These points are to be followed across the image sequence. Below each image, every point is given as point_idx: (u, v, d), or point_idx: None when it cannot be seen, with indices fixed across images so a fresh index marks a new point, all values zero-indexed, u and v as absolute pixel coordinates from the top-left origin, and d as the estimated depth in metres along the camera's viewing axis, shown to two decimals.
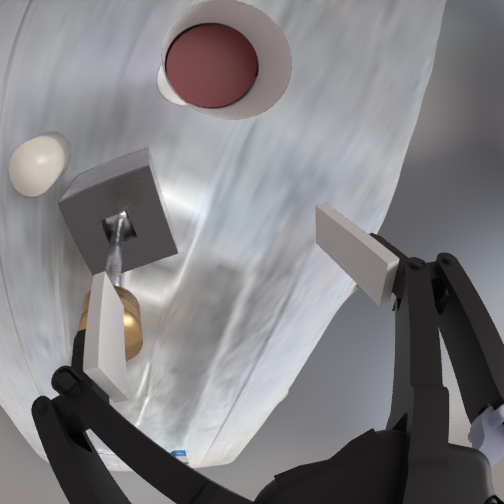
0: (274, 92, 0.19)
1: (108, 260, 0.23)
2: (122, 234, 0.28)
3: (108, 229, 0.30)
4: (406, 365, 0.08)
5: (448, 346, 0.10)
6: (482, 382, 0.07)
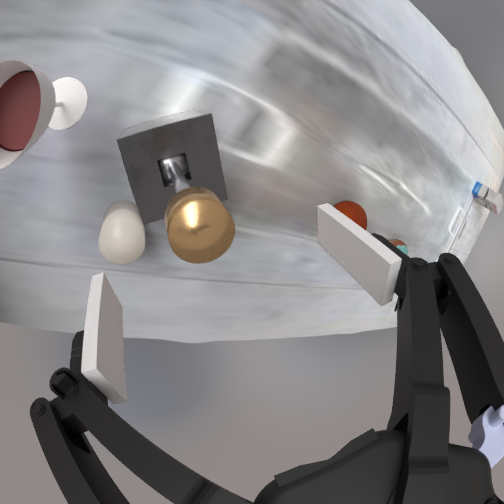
0: None
1: None
2: (174, 169, 0.29)
3: None
4: (408, 365, 0.08)
5: (449, 346, 0.10)
6: (483, 383, 0.07)
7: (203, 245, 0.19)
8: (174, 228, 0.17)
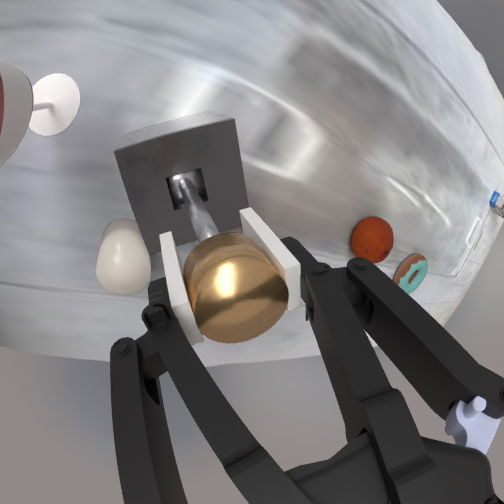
0: None
1: None
2: (187, 190, 0.24)
3: None
4: (344, 379, 0.08)
5: (388, 353, 0.10)
6: (443, 383, 0.07)
7: (243, 322, 0.13)
8: (202, 305, 0.12)
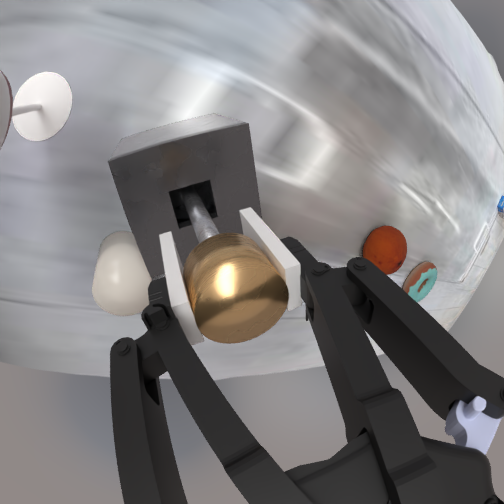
0: None
1: None
2: (187, 190, 0.24)
3: None
4: (344, 379, 0.08)
5: (388, 353, 0.10)
6: (443, 383, 0.07)
7: (243, 322, 0.13)
8: (202, 306, 0.12)
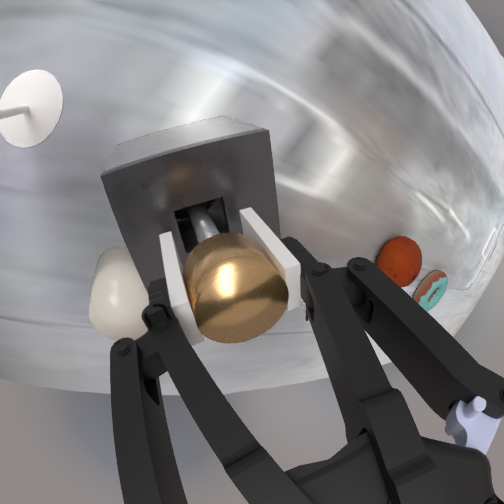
0: None
1: None
2: None
3: None
4: (344, 379, 0.08)
5: (388, 353, 0.10)
6: (443, 383, 0.07)
7: (243, 322, 0.13)
8: (203, 306, 0.12)
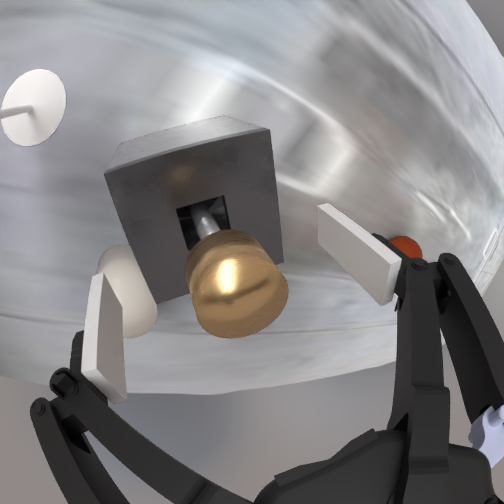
0: None
1: None
2: None
3: None
4: (408, 365, 0.08)
5: (449, 346, 0.10)
6: (483, 383, 0.07)
7: (244, 317, 0.13)
8: (204, 300, 0.12)
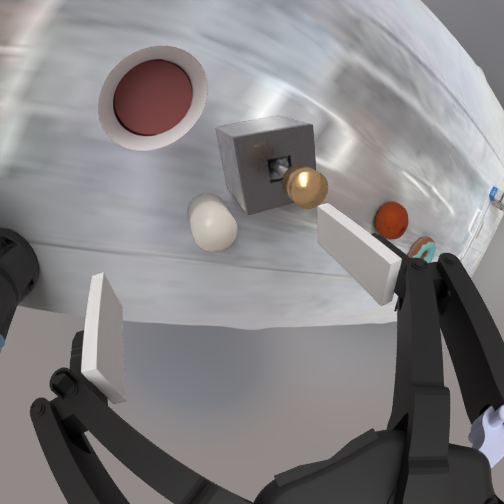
0: (182, 53, 0.19)
1: None
2: None
3: None
4: (408, 365, 0.08)
5: (449, 346, 0.10)
6: (483, 383, 0.07)
7: (310, 197, 0.31)
8: (297, 185, 0.30)
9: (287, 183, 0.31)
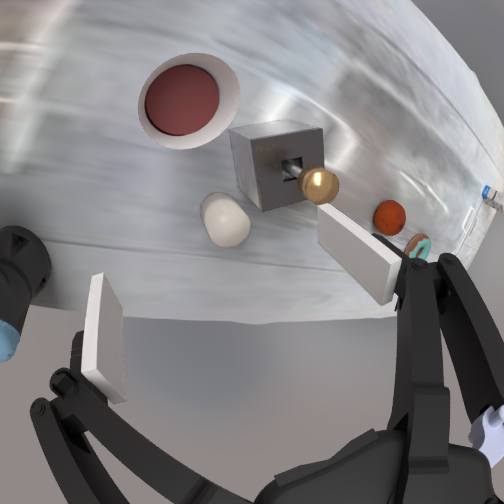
0: (216, 61, 0.22)
1: (287, 171, 0.41)
2: None
3: None
4: (408, 365, 0.08)
5: (449, 346, 0.10)
6: (483, 383, 0.07)
7: (324, 195, 0.34)
8: (313, 184, 0.33)
9: (303, 182, 0.34)
